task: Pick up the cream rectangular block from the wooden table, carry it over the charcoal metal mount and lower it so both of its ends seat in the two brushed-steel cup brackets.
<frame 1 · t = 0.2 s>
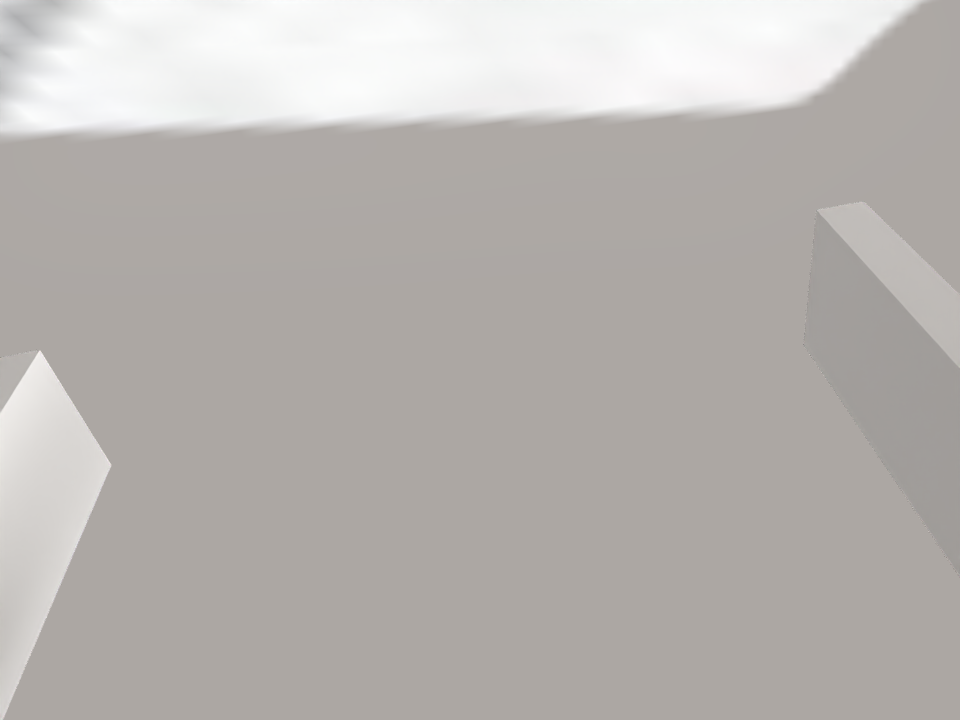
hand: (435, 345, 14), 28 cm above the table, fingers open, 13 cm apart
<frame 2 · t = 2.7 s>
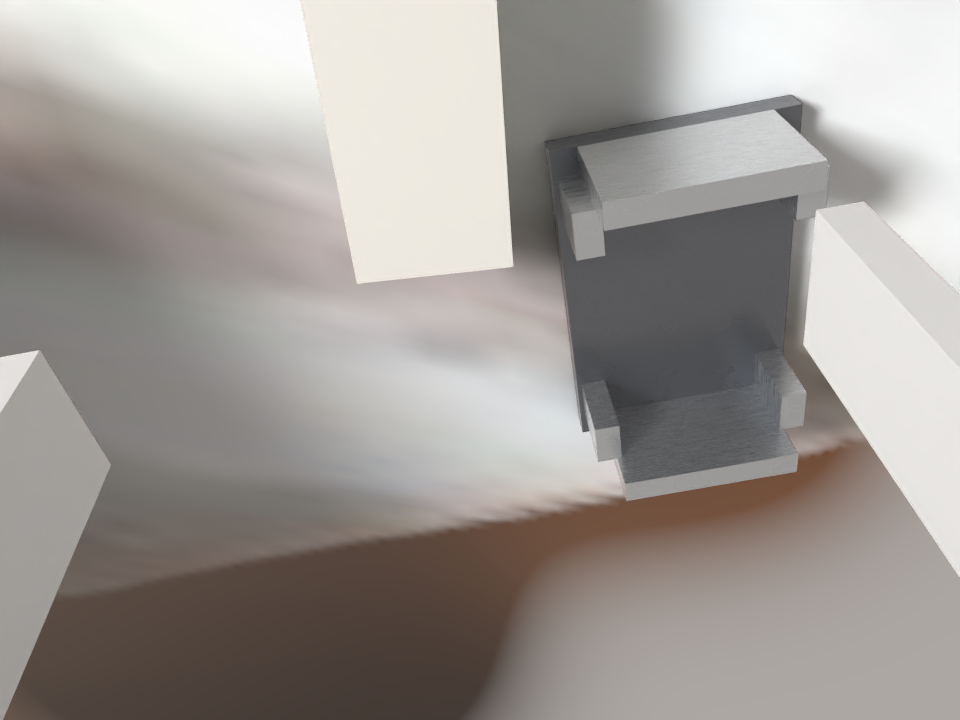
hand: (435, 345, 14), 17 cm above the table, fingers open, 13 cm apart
rail mount: (671, 276, 33), on the table
cream rectangular block: (413, 59, 27), on the table
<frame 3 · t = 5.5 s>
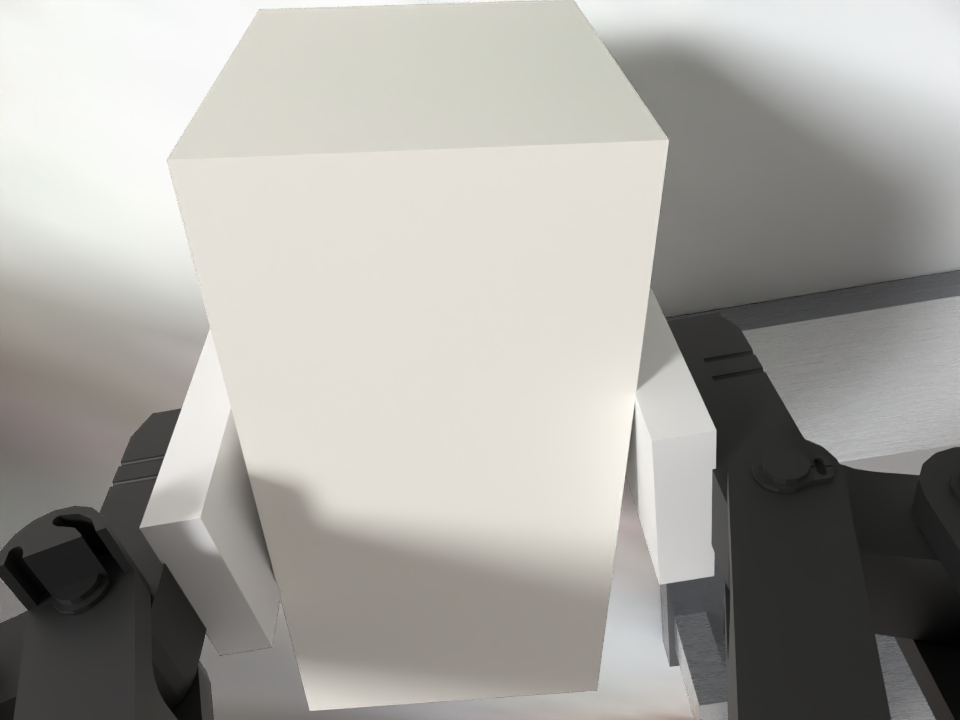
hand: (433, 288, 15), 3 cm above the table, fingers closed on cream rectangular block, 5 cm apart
rail mount: (809, 485, 24), on the table
cream rectangular block: (433, 275, 16), point 3 cm above the table, touching gripper
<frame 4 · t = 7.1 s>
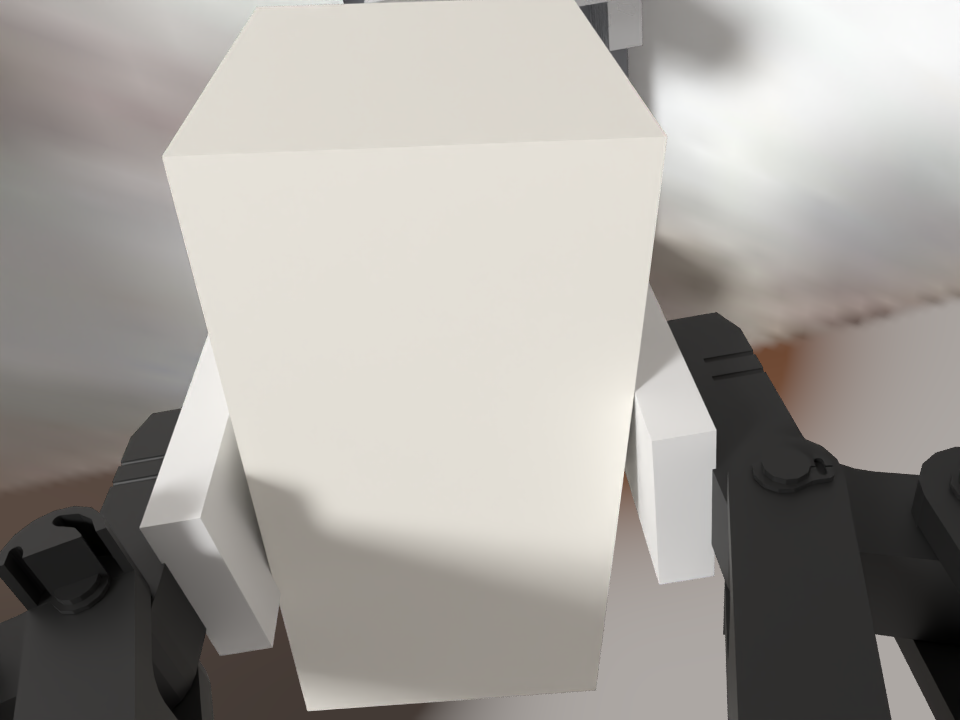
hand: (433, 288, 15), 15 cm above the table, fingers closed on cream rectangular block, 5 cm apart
rail mount: (503, 144, 30), on the table
cream rectangular block: (431, 274, 16), point 15 cm above the table, touching gripper
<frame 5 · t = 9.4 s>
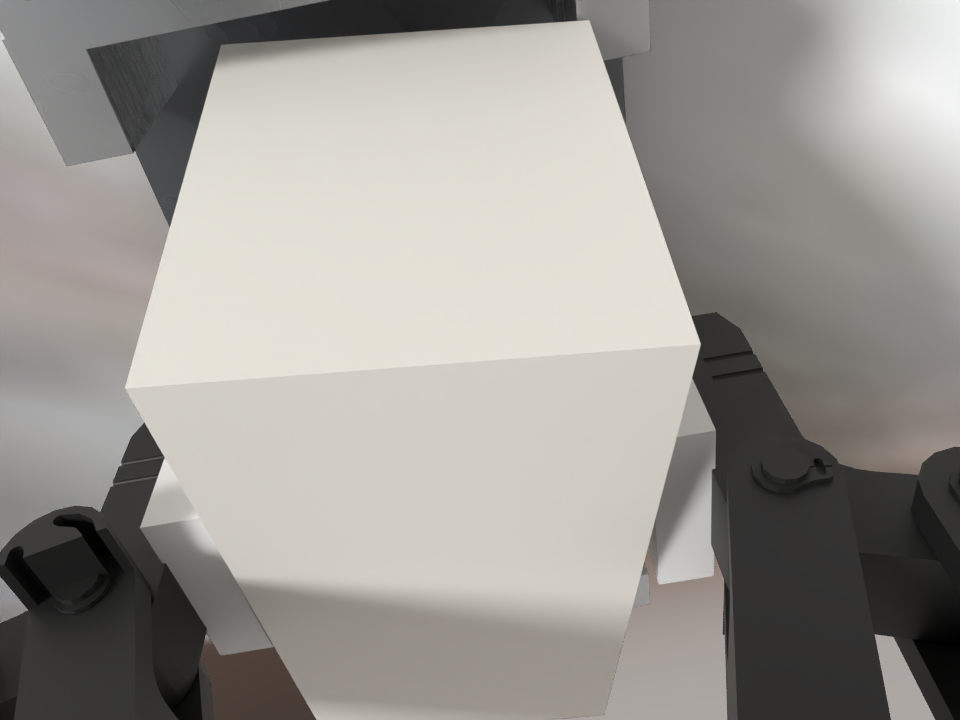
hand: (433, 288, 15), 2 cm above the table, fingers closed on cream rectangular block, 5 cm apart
rail mount: (411, 225, 17), on the table
cream rectangular block: (433, 296, 15), point 3 cm above the table, tilted 12°, touching gripper, rail mount
when the fingers open (2 cm above the table, at t = 9.9 s): cream rectangular block drops 2 cm, resting on rail mount.
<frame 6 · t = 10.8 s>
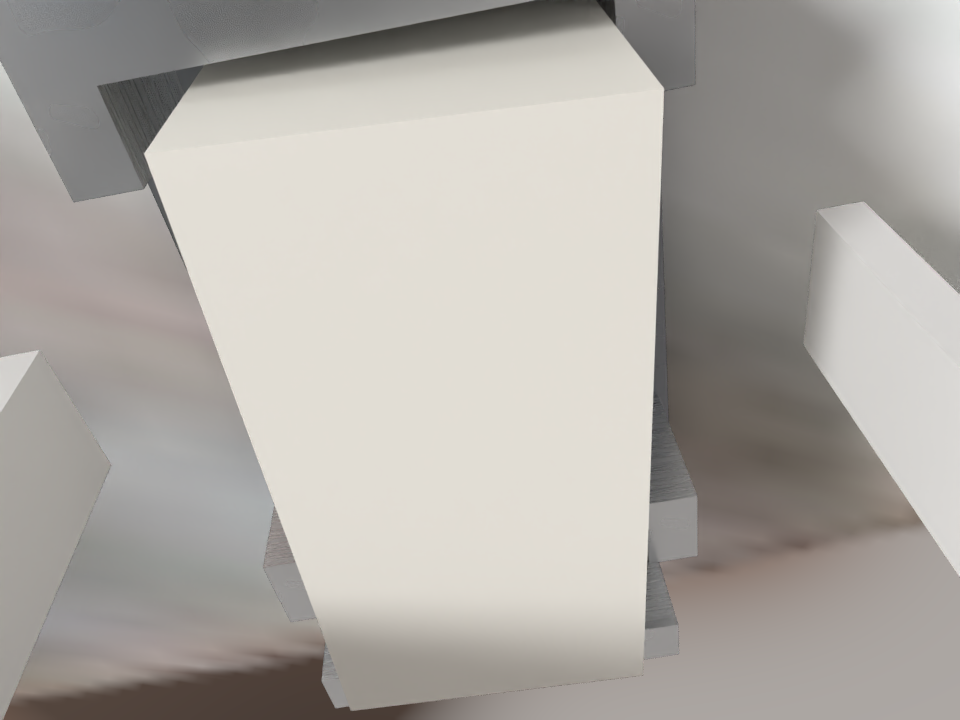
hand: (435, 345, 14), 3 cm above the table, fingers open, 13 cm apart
rail mount: (432, 254, 16), on the table
cream rectangular block: (447, 262, 15), point 1 cm above the table, touching rail mount
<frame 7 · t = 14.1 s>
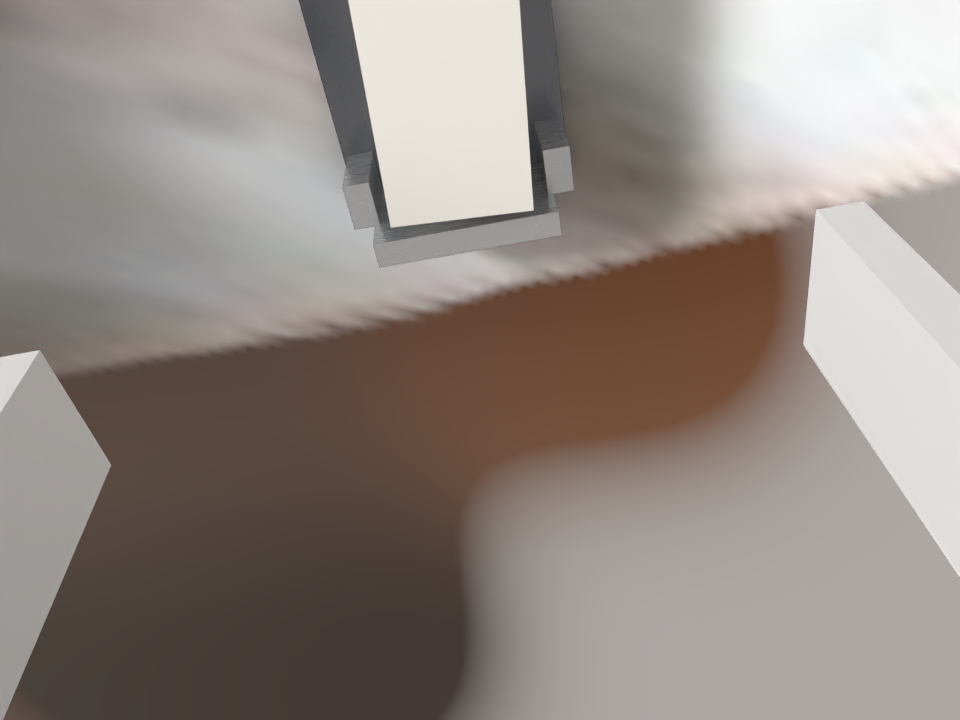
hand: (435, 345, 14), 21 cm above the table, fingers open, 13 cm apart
rail mount: (432, 27, 31), on the table
cream rectangular block: (439, 23, 30), point 1 cm above the table, touching rail mount
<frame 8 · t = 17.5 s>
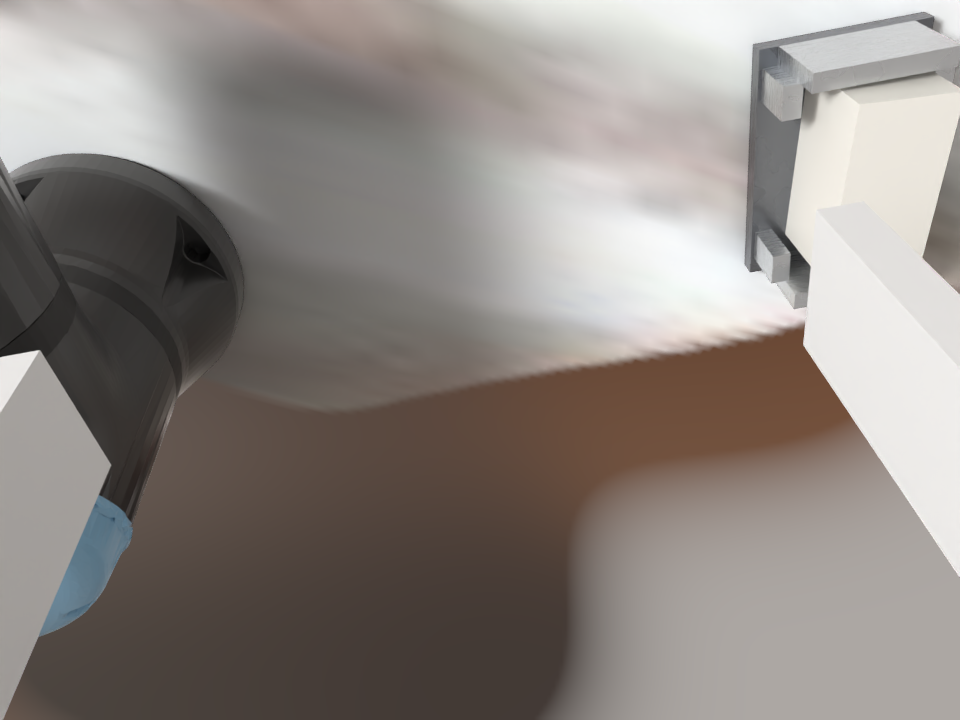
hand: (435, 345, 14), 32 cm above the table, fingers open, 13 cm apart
rail mount: (826, 149, 46), on the table
cream rectangular block: (840, 149, 45), point 1 cm above the table, touching rail mount
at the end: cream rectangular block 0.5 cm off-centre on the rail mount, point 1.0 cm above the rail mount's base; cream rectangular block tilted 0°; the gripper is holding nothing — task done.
